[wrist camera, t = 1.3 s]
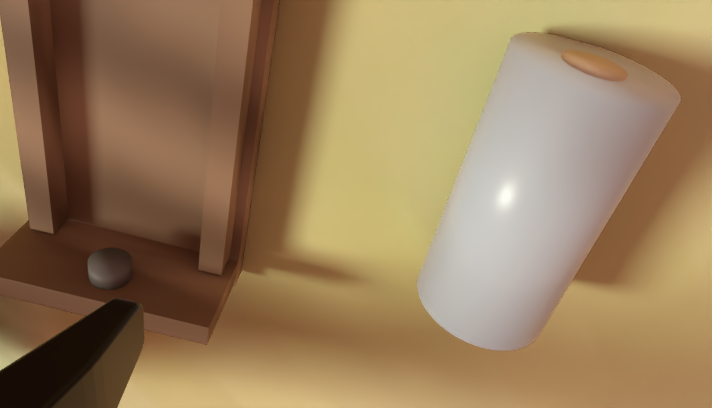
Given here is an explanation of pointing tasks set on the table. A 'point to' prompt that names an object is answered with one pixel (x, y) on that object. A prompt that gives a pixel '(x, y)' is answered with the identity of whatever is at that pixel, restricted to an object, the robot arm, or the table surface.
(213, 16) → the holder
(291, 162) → the table surface
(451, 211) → the cylinder
